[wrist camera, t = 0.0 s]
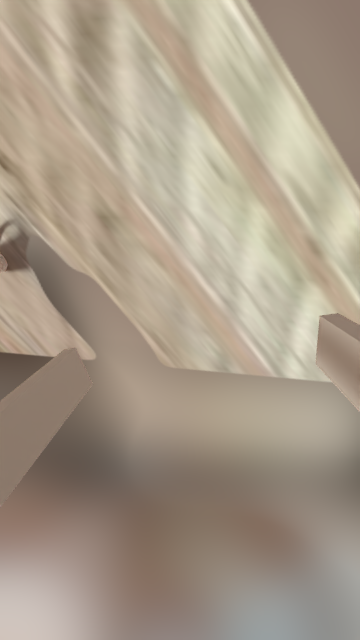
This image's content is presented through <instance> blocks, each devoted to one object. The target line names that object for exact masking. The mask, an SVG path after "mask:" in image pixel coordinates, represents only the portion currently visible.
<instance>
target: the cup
mask: <svg viewBox="0 0 360 640" xmlns="http://www.w3.org/2000/svg"><path fill="white" fill-rule="evenodd" d="M7 266H8V263H7V261H6V259H5V257H4V256H3V255H2V254H0V272H3V271H6V270H7Z"/></svg>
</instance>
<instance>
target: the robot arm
mask: <svg viewBox="0 0 360 640" xmlns="http://www.w3.org/2000/svg"><path fill="white" fill-rule="evenodd" d="M316 365H317V366H318V367H319V368H320V369H321V370H322V371H323V372H324V373H325V375H326V376H327V377H328V378H329V379H330V380H331V381H332V382H333V383H334V384H335V385H336V387H337V388H338V389H339V390H340V391H341V392H342V393H343V394H344V395H345V396H346V398H347V399H348V400H349V401H350V402H351V403H352V404H353V405H354V406H355V407H356V408H357V409H358V411H359V412H360V325H358V324H357V323H355V322H353V321H351V320H349V319H347V318H346V317H344V316H342V315H340V314H338V313H337V314H329V315H322V316H320V319H319V330H318V342H317V353H316ZM92 385H93V383H92V381H91V379H90V377H89V375H88V373H87V370H86V369H85V366H84V364H83V362H82V360H81V358H80V356H79V354H78V351H77V349H76V348H71V349H64V350H63V351H62V352H61V353H59V354H58V355H57V356H56V357H54V358H53V359H52V360H51V361H49V362H48V363H47V364H46V365H44V366H43V367H42V368H41V369H39V370H38V371H37V372H36V373H35V374H33V375H32V376H31V377H30V378H28V379H27V380H26V381H25V382H23V383H22V384H21V385H20V386H18V387H17V388H16V389H15V390H13V391H12V392H11V393H10V394H8V395H7V396H6V397H5V398H3V399H2V400H1V401H0V507H1V506H2V504H3V503H4V502H5V501H6V499H7V498H8V497H9V495H10V494H11V492H12V491H13V490H14V488H15V487H16V486H17V485H18V483H19V482H20V481H21V479H22V478H23V477H24V475H25V474H26V473H27V471H28V470H29V469H30V467H31V466H32V465H33V463H34V462H35V460H36V459H37V458H38V457H39V455H40V454H41V452H42V451H43V450H44V449H45V447H46V446H47V445H48V443H49V442H50V441H51V439H52V437H54V435H55V434H56V433H57V431H58V430H59V428H60V427H61V426H62V425H63V423H64V422H65V421H66V419H67V418H68V416H69V415H70V414H71V413H72V411H73V410H74V409H75V407H76V406H77V405H78V403H79V402H80V401H81V399H82V398H83V397H84V395H85V394H86V393H87V391H88V390H89V389H90V387H91V386H92Z"/></svg>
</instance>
